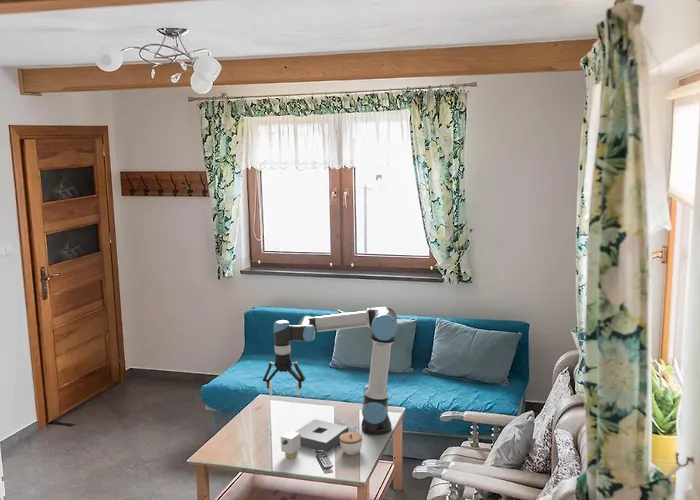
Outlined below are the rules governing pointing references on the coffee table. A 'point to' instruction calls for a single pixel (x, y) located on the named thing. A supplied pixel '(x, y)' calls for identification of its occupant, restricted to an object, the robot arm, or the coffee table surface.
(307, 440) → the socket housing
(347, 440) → the lidded jar
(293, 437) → the plug
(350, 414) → the coffee table surface
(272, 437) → the coffee table surface
